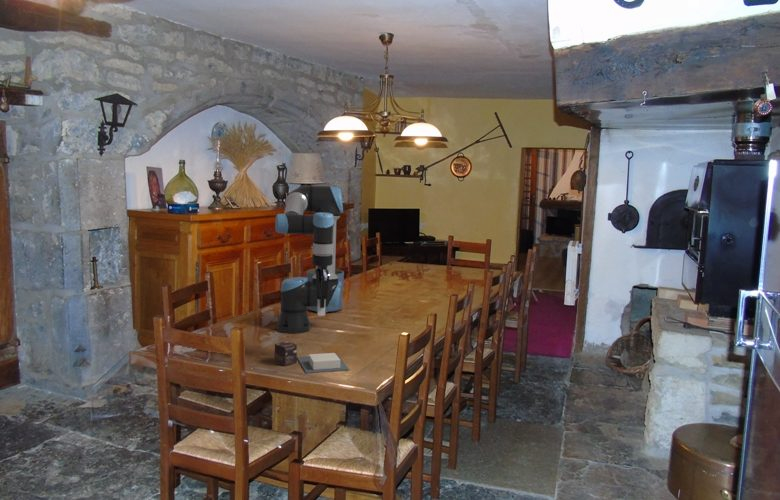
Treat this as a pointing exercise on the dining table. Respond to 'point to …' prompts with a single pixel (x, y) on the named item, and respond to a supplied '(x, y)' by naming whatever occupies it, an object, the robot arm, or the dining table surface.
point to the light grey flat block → (324, 361)
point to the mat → (308, 369)
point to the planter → (340, 278)
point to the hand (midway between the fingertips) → (321, 315)
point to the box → (285, 353)
